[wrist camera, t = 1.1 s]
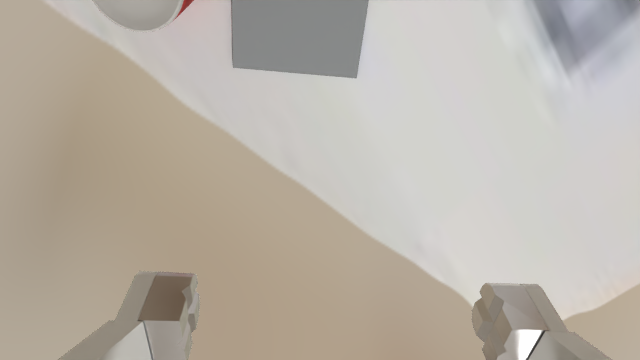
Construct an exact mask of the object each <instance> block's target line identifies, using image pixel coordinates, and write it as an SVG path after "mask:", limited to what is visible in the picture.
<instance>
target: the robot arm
mask: <svg viewBox="0 0 640 360" xmlns="http://www.w3.org/2000/svg"><path fill="white" fill-rule="evenodd" d="M197 284H198V282H197V275H196V274H189V273H172V272H149V271H139V272H138V273H137V274H136V275H135V277H134V279H133V281H132V284H131V286H130V288H129V290H128V292H127V295H126V297H125V299H124V301H123V304H122V306H121V308H120V310H119V312H118V315H117V317H116V319H115V321H108V322H107V323H105V324H104V325H103V326H101V327H100V328H99V329H97V330H96V331H95V332H93V333H92V334H91V335H89V336H88V337H87V338H85V339H84V340H83V341H82V342H80V343H79V344H78V345H76V346H75V347H74V348H72V349H71V350H70V351H68V352H67V353H66V354H65V355H63V356H62V357H61V358H59V359H58V360H188V358H189V354H190V350H191V346H192V336H191V333H192V332H193V331H194V330H195V329H196V326H197V322H198V317H199V309H200V300H199V294H198V293H197V292H196V288H197ZM480 294H481V296H482V298H481V299H479V300H478V301H477V302H475V304H474V307H473V310H472V323H473V328H474V330H475V333H476V335H477V336H478V337H479V338H480V339H481V340H482V341H483V342H484V345H483V348H482V351H483V353H484V355H485V358H486V360H612V359H611V358H609V357H608V356H606V355H605V354H603V353H602V352H601V351H600V350H598V349H597V348H595V347H594V346H593V345H591V344H590V343H589V342H587V341H586V340H584V339H583V338H582V337H580V336H579V335H578V334H576V333H575V332H569V331H568V329H567V328H566V326H565V325H564V323H563V321H562V320H561V318H560V316H559V315H558V313H557V312H556V310H555V308H554V307H553V305H552V304H551V302H550V300H549V299H548V297H547V296H546V294H545V292H544V291H543V289H542V288H541V287H540V286H539V285H538V284H510V283H485V284H484V285H483V286H482V288H481V290H480Z"/></svg>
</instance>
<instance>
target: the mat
mask: <svg viewBox="0 0 640 360" xmlns="http://www.w3.org/2000/svg"><path fill="white" fill-rule="evenodd" d="M368 1H369V0H232V44H233V68H243V69H255V70H266V71H278V72H289V73H301V74H313V75H324V76H336V77H347V78H357V72H358V65H359V59H360V52H361V46H362V40H363V33H364V27H365V20H366V14H367V7H368Z"/></svg>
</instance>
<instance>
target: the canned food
mask: <svg viewBox="0 0 640 360" xmlns="http://www.w3.org/2000/svg"><path fill="white" fill-rule="evenodd" d="M92 1H93V2H94V3H95V5H96V6H97V7H98V9H99V10H100V11H101V12H102V13H103V14H104V15H105V16H106V17H107V18H108V19H109V20H111V21H112V22H114V23H115V24H117V25H119V26H121V27H123V28H125V29H127V30H131V31H134V32H143V33H145V32H153V31H156V30H159V29H161V28H164V27H165V26H167V25H168V24H170V23H171V22H172V21H173V20H175V19H176V18H177V17H178V16H179V15H180V14H181V13H182V12H183V11H184V10H185V9H186V8H187V7H188V6H189V5H190V4H191V3H192V2H193V1H194V0H92Z"/></svg>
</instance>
